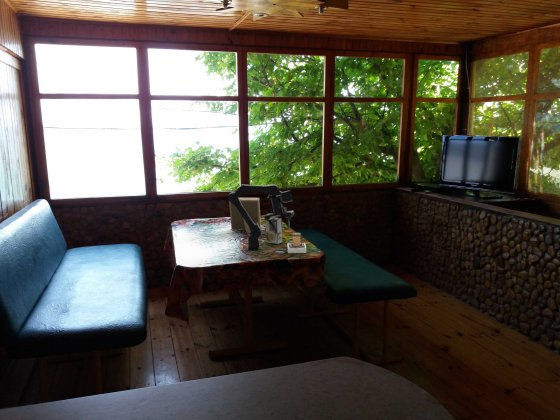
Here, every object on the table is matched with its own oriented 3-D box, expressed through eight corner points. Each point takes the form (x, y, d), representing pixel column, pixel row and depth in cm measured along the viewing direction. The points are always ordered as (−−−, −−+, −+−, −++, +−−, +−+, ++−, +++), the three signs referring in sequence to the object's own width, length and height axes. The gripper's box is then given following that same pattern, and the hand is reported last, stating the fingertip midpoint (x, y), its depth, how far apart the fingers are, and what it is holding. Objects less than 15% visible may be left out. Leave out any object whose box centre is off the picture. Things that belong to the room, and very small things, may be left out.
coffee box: (282, 242, 280) (282, 218, 277) (277, 244, 275) (277, 220, 272) (271, 240, 285) (270, 217, 282) (265, 242, 279) (265, 218, 277)
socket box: (288, 253, 254) (287, 247, 254) (287, 247, 266) (287, 242, 265) (306, 252, 254) (306, 247, 254) (304, 247, 266) (304, 242, 266)
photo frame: (232, 228, 321) (231, 196, 316) (260, 229, 318) (260, 196, 314) (228, 233, 306) (227, 199, 301) (258, 234, 304) (257, 199, 299)
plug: (292, 250, 258) (292, 234, 256) (293, 248, 262) (293, 232, 261) (300, 250, 258) (300, 234, 256) (300, 248, 262) (300, 232, 260)
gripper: (295, 199, 264) (300, 223, 267) (269, 203, 272) (274, 226, 275) (288, 203, 254) (293, 228, 257) (261, 207, 262) (266, 231, 265)
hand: (282, 228), depth 264 cm, fingers open, 9 cm apart
